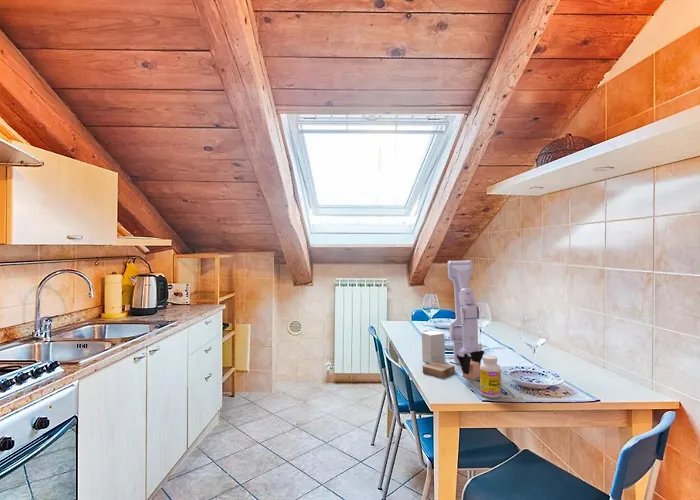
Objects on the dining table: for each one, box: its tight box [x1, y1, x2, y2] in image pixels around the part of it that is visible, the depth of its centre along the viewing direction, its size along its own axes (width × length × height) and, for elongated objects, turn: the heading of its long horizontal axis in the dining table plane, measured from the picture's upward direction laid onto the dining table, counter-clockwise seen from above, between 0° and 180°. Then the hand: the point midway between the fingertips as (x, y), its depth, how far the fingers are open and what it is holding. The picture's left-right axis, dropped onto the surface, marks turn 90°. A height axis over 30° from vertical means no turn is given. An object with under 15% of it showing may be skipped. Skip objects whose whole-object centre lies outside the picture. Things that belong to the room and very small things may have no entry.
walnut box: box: [422, 361, 456, 379], centre depth 155 cm, size 9×9×3 cm
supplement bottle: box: [479, 354, 502, 399], centre depth 131 cm, size 7×7×13 cm
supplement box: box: [421, 330, 446, 364], centre depth 170 cm, size 7×7×13 cm
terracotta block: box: [462, 361, 480, 380], centre depth 149 cm, size 4×4×6 cm
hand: (471, 371), depth 149 cm, fingers open, 7 cm apart
